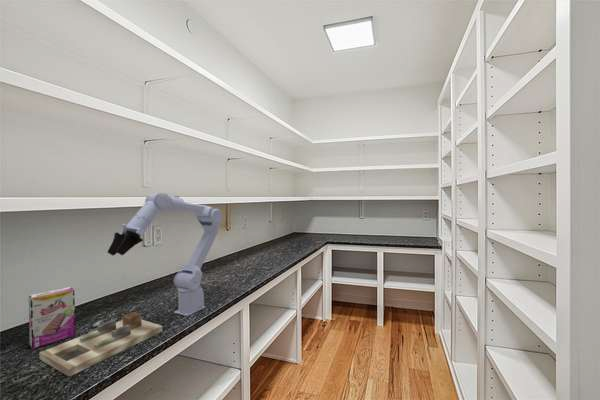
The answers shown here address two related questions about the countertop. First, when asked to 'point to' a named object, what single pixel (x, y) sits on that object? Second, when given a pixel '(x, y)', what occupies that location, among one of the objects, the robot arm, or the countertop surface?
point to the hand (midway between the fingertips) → (114, 253)
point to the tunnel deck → (97, 345)
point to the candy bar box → (51, 316)
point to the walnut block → (132, 320)
